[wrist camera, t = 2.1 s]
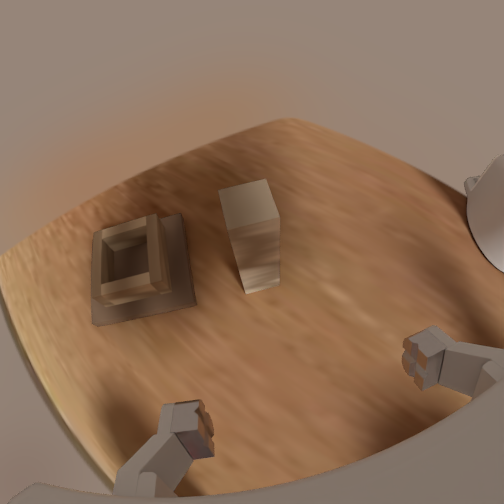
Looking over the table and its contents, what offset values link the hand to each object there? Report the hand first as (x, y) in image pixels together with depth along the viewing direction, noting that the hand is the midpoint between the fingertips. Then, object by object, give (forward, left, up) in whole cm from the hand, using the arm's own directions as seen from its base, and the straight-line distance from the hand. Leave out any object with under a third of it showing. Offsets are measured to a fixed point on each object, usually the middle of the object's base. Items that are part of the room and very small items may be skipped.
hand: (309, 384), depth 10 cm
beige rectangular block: (-2, -12, -16) cm, 20 cm away
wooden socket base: (+10, -18, -16) cm, 26 cm away
